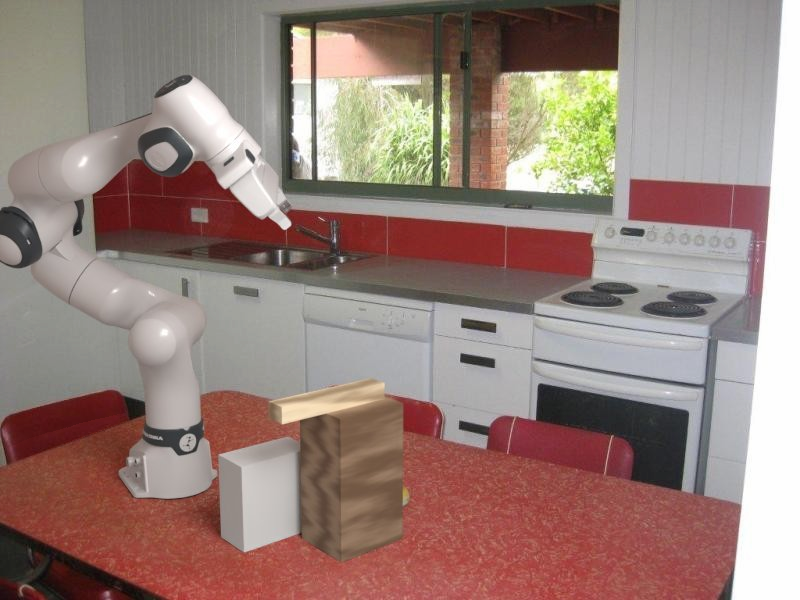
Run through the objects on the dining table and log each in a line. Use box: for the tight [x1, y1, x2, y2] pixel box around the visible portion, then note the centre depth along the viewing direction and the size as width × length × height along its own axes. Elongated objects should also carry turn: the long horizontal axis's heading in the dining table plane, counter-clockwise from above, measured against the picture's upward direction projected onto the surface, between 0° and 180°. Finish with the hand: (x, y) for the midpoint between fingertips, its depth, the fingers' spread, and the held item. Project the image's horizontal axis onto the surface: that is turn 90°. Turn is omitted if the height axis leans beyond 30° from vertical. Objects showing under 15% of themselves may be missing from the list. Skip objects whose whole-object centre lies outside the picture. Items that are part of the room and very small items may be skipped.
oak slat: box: [268, 377, 386, 425], centre depth 161 cm, size 4×22×3 cm, turn 131°
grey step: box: [217, 436, 302, 553], centre depth 170 cm, size 8×15×16 cm, turn 131°
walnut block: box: [299, 396, 404, 563], centre depth 167 cm, size 12×14×26 cm
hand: (288, 218), depth 162 cm, fingers open, 8 cm apart
